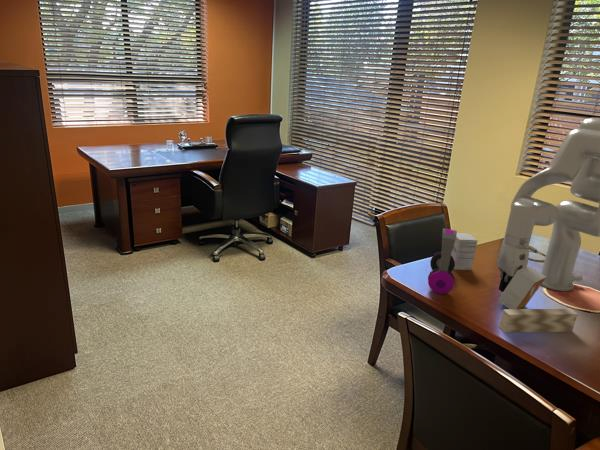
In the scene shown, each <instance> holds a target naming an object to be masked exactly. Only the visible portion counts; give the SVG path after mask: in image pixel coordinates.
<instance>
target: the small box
mask: <svg viewBox="0 0 600 450" xmlns="http://www.w3.org/2000/svg"><path fill="white" fill-rule="evenodd" d="M545 279H546V276H544V275H543V274H542V273H541V272H540V271H539V270H537V269H536V268H534V267H533V266H532V265H530V264H528V265H527V268H522V269H520V270H518V271H517V272H516V274H515V275H514V277H513V278H512V280H511V281H510V283H509V284H508V286H507V287H506V289H505V290H504V292H502V293H501V295H500V296H499V297H498V299H497V300H498V301H499V302H500V303H501V304H502V305H504V307H506V309H507V308H508V309H524V308H525V307H527V305H528V303H529V302H530V300H531V299H532V298H533V297H534V295H535V294H536V292H537V291H538V289H539V288H540V287H541V286H542V285H541V284H542V283H543V281H544V280H545Z"/></svg>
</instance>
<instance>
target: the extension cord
mask: <svg viewBox="0 0 600 450" xmlns="http://www.w3.org/2000/svg"><path fill="white" fill-rule="evenodd" d="M528 248H529V253H534V254H538V253H539V254H538V255H541V254H542V256H543V257H546V253H542V252H540V251H538V249H537V248H535V247H534V246H532V245H529V246H528ZM529 260H530V261H532V262H533V261H534V262H538V261H539V262H540V263H544V262H543V261H545V259H533V258H531V257H529V258H528V261H529Z"/></svg>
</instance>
